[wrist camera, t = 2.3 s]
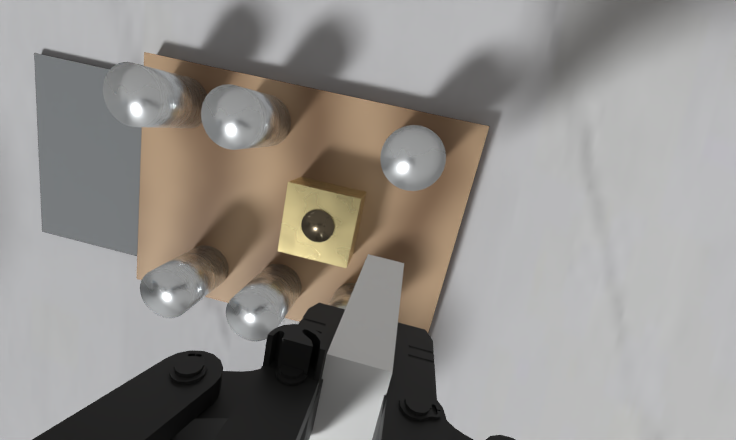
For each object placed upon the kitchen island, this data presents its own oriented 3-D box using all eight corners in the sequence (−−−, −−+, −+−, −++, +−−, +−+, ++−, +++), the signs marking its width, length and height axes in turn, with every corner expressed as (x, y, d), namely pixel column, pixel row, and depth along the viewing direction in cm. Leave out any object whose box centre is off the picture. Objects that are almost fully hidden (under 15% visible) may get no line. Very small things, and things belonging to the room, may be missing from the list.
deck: (146, 273, 27) (136, 278, 26) (155, 55, 23) (144, 52, 22) (421, 345, 26) (422, 354, 25) (485, 126, 21) (489, 126, 20)
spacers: (154, 272, 26) (101, 300, 21) (164, 71, 22) (103, 56, 18) (392, 334, 25) (387, 377, 20) (445, 133, 21) (453, 133, 16)
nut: (291, 239, 24) (277, 251, 21) (301, 176, 23) (287, 182, 20) (353, 254, 23) (346, 268, 21) (366, 191, 22) (360, 199, 20)
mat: (47, 230, 27) (42, 231, 27) (40, 54, 24) (34, 52, 23) (141, 254, 27) (137, 256, 26) (147, 77, 23) (143, 76, 23)
